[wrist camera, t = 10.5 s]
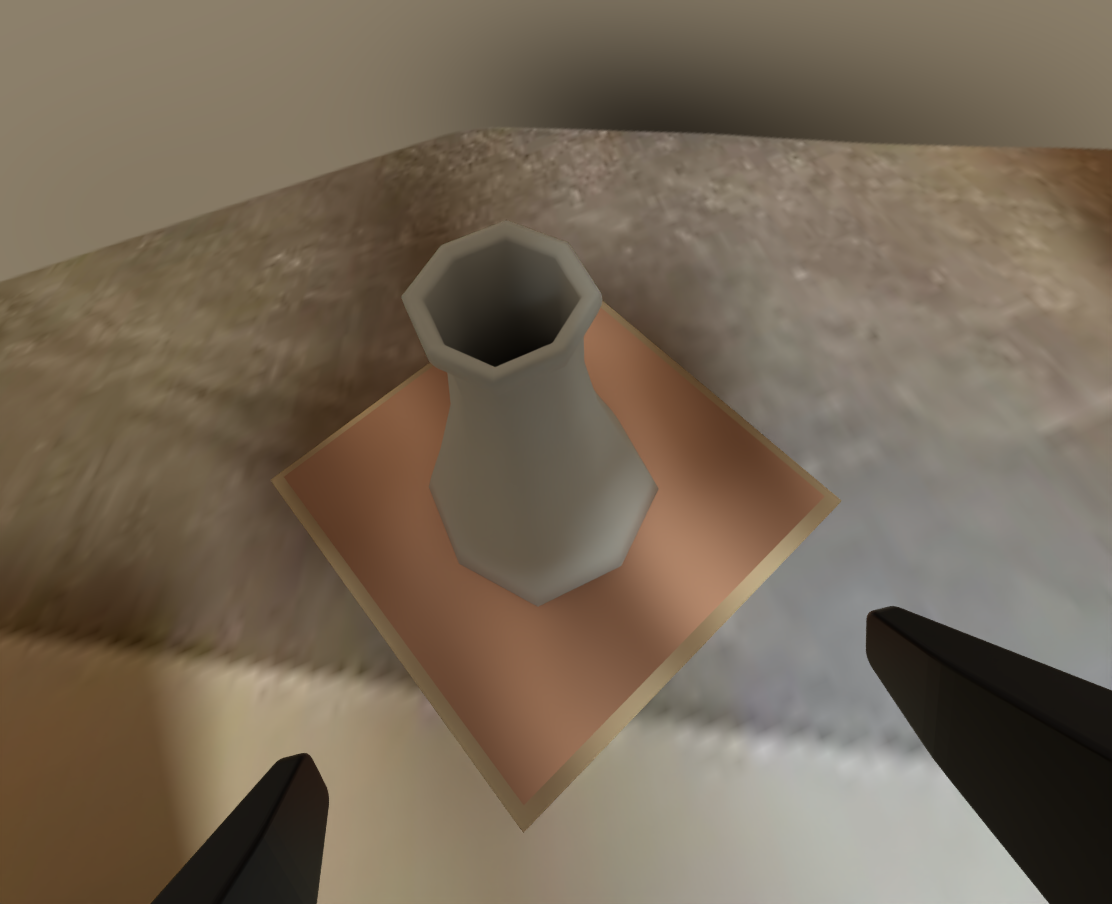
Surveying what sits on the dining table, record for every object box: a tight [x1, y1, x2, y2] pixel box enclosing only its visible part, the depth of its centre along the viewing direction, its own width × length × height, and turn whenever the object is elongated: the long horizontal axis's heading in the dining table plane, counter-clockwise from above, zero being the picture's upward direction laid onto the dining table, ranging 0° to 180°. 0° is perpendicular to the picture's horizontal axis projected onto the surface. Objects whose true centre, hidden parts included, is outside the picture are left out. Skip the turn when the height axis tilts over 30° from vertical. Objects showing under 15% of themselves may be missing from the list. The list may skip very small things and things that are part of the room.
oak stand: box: [271, 301, 841, 832], centre depth 20 cm, size 14×14×3 cm
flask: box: [401, 220, 659, 607], centre depth 14 cm, size 7×7×10 cm
